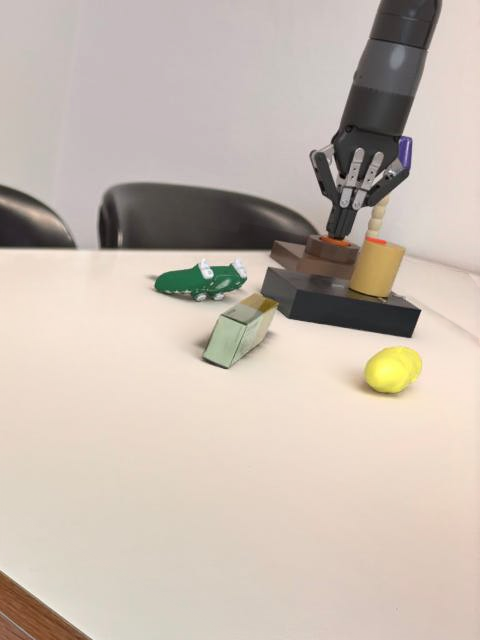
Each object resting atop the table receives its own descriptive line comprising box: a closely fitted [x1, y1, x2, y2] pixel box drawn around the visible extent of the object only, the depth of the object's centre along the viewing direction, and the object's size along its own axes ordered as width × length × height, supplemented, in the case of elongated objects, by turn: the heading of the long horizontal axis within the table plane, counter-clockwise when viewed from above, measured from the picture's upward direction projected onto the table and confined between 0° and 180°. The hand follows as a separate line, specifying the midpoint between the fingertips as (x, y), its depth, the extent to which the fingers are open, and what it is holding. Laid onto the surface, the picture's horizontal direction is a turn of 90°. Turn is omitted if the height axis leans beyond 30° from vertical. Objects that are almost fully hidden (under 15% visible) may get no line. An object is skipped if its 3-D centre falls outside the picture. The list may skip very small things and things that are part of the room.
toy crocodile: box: [153, 257, 248, 302], centre depth 111 cm, size 9×4×6 cm
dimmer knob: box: [349, 237, 407, 297], centre depth 114 cm, size 4×4×5 cm
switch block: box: [269, 234, 362, 280], centre depth 137 cm, size 12×10×4 cm
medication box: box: [201, 292, 279, 370], centre depth 94 cm, size 12×3×4 cm, turn 154°
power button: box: [321, 234, 351, 246], centre depth 136 cm, size 4×4×2 cm
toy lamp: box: [358, 135, 414, 255], centre depth 144 cm, size 5×5×17 cm
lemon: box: [363, 345, 423, 394], centre depth 92 cm, size 4×8×4 cm, turn 137°
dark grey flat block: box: [259, 266, 422, 339], centre depth 116 cm, size 14×10×3 cm
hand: (335, 238), depth 136 cm, fingers closed
